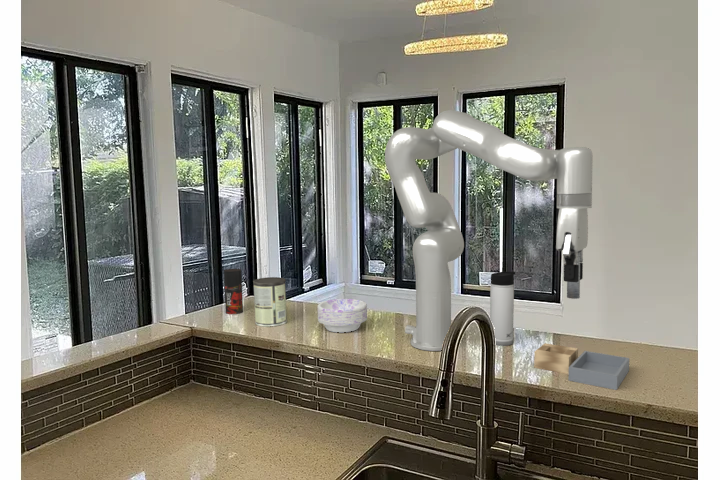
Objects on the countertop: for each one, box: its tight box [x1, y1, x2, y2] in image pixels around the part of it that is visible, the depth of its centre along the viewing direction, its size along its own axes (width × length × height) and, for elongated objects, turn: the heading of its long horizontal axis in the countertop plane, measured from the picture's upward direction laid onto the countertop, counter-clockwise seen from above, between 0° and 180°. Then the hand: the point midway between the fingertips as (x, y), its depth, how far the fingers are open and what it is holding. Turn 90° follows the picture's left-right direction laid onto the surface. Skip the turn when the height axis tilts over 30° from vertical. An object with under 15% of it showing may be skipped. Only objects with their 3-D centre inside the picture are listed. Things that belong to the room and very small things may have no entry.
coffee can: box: [252, 276, 288, 328], centre depth 175 cm, size 10×10×14 cm
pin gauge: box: [566, 248, 581, 300], centre depth 127 cm, size 3×3×12 cm
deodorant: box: [223, 268, 244, 315], centre depth 190 cm, size 6×6×15 cm
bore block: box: [533, 342, 579, 375], centre depth 131 cm, size 8×8×4 cm
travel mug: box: [489, 270, 516, 347], centre depth 150 cm, size 6×7×20 cm
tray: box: [568, 350, 630, 391], centre depth 125 cm, size 10×14×3 cm
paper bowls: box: [316, 298, 368, 334], centre depth 167 cm, size 15×15×8 cm
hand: (573, 279), depth 127 cm, fingers closed on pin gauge, 2 cm apart
